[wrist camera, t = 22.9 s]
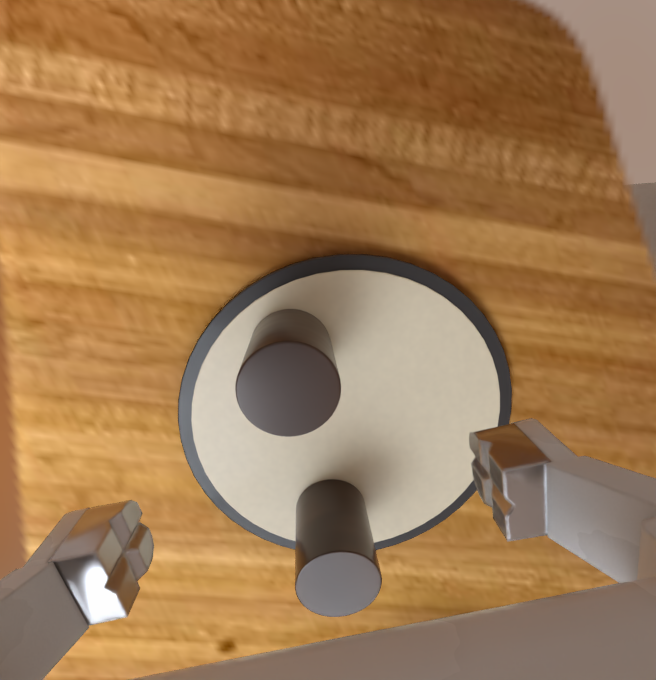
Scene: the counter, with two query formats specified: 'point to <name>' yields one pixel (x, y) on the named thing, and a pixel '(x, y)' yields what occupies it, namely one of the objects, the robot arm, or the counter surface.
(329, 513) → the eye puck
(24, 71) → the counter surface
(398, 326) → the board
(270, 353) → the eye puck
